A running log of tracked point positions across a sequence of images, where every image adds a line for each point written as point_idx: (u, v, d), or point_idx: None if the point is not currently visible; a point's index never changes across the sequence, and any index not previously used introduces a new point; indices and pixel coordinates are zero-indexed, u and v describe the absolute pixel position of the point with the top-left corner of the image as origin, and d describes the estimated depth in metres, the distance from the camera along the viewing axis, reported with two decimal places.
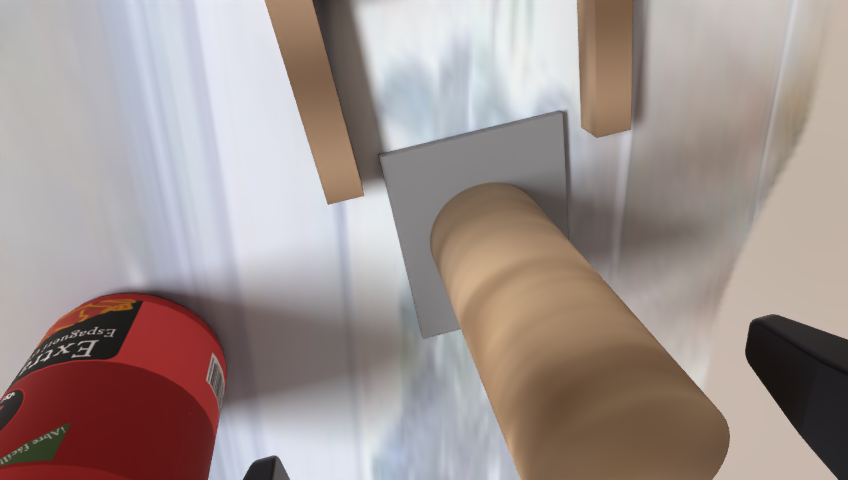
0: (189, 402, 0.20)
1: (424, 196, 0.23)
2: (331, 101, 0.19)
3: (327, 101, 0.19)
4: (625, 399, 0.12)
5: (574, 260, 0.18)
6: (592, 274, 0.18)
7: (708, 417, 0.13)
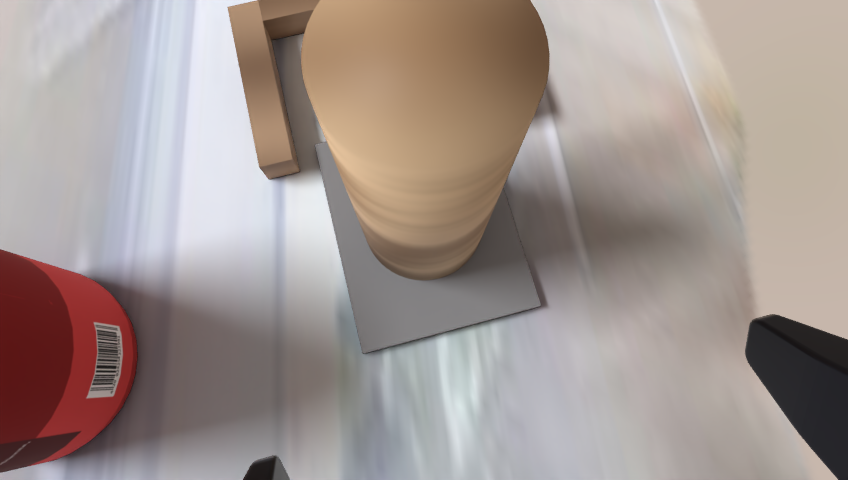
0: (58, 301, 0.18)
1: None
2: (270, 84, 0.25)
3: (267, 83, 0.25)
4: None
5: None
6: None
7: None
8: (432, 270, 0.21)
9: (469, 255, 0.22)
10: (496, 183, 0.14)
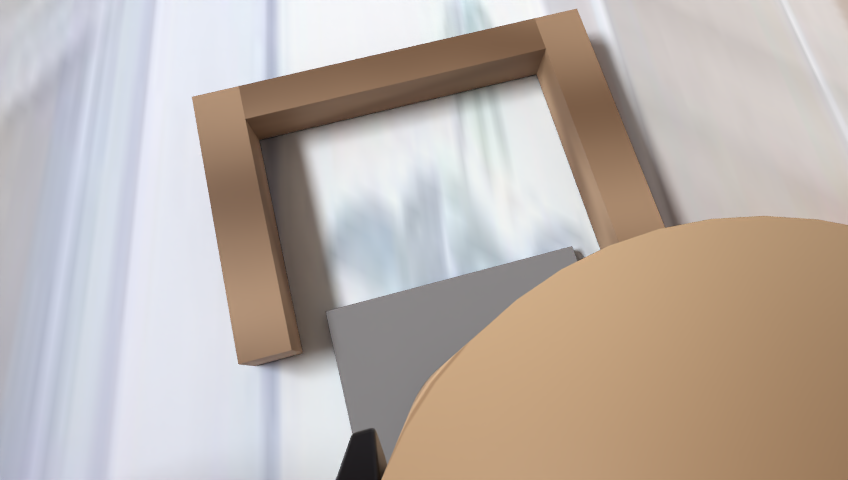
0: None
1: (391, 370, 0.16)
2: (256, 221, 0.16)
3: (251, 221, 0.16)
4: (631, 240, 0.04)
5: None
6: None
7: None
8: None
9: None
10: None
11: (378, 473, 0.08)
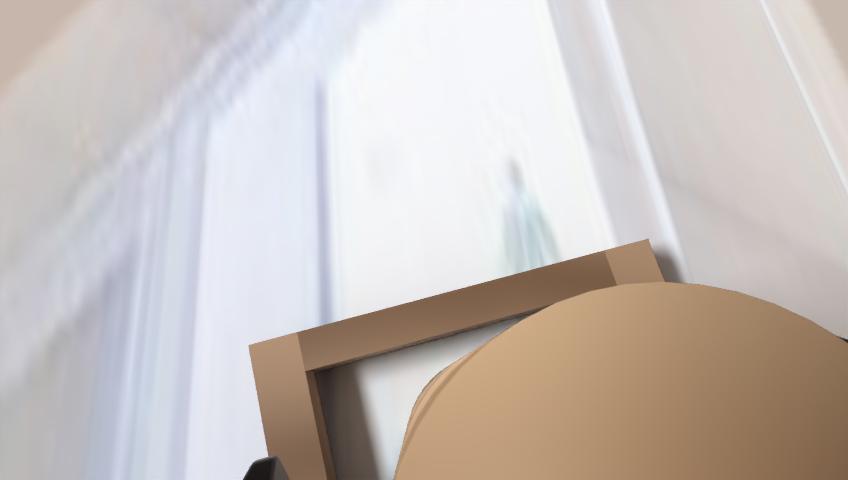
0: None
1: None
2: None
3: None
4: (573, 298, 0.05)
5: None
6: None
7: (846, 379, 0.05)
8: None
9: None
10: None
11: None
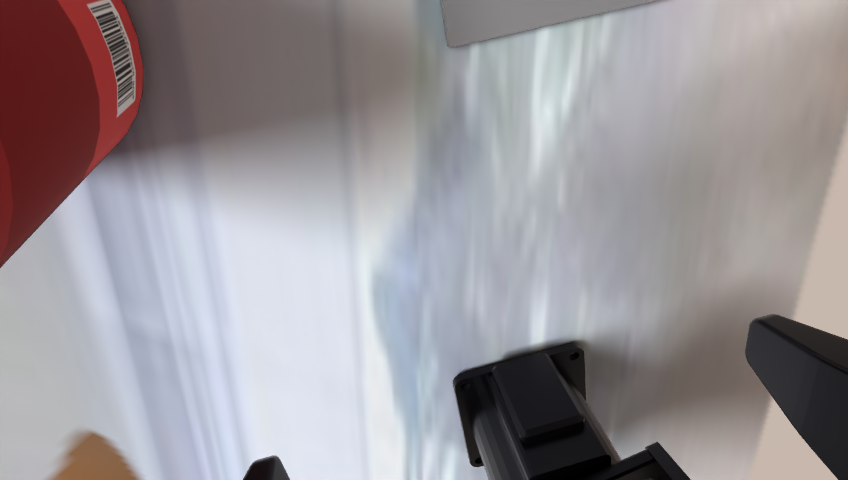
0: None
1: None
2: None
3: None
4: None
5: None
6: None
7: None
8: None
9: None
10: None
11: None
